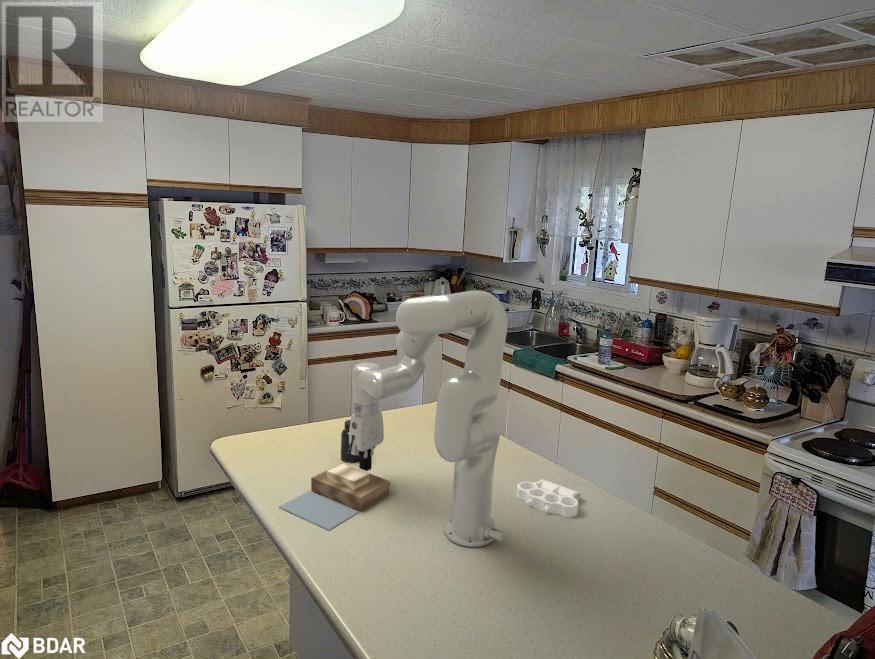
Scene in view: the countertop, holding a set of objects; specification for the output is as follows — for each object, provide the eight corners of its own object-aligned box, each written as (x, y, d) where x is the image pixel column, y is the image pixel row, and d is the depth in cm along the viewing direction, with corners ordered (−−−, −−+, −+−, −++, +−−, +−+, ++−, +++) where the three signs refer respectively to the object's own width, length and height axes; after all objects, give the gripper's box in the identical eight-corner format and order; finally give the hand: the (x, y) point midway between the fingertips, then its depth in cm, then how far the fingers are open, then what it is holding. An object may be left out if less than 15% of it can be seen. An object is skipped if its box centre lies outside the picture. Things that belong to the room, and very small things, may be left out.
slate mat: (359, 512, 154) (359, 511, 154) (328, 530, 145) (328, 529, 145) (310, 491, 164) (310, 490, 164) (278, 507, 155) (278, 506, 155)
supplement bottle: (351, 464, 181) (352, 427, 179) (336, 458, 185) (336, 422, 183) (367, 457, 187) (367, 421, 184) (351, 451, 191) (352, 416, 188)
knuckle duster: (590, 504, 164) (565, 524, 153) (534, 483, 175) (507, 501, 164) (591, 493, 163) (566, 512, 152) (534, 472, 174) (507, 490, 163)
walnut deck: (389, 494, 164) (389, 481, 163) (360, 511, 154) (360, 497, 153) (341, 475, 174) (341, 463, 173) (311, 491, 164) (311, 477, 163)
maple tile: (369, 482, 162) (369, 473, 162) (354, 490, 157) (354, 481, 157) (342, 471, 167) (342, 463, 167) (327, 479, 163) (327, 470, 162)
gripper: (358, 418, 156) (357, 482, 160) (393, 403, 168) (392, 463, 172) (337, 411, 160) (337, 474, 164) (373, 398, 172) (372, 456, 176)
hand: (365, 468), depth 168 cm, fingers closed
